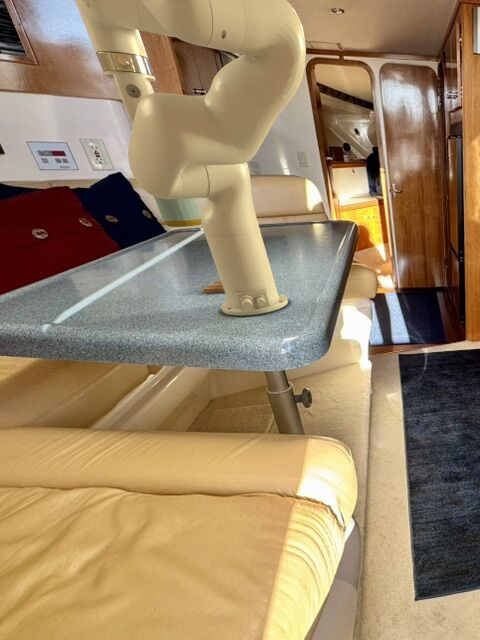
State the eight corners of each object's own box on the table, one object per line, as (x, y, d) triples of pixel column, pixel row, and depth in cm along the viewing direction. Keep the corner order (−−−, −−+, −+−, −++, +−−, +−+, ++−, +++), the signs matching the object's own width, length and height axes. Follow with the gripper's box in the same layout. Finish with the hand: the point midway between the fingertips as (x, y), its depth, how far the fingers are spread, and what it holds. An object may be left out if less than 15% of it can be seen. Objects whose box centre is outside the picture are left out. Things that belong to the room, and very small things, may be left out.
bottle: (211, 223, 92) (185, 148, 84) (187, 227, 86) (157, 146, 78) (183, 222, 92) (155, 147, 85) (157, 227, 86) (125, 146, 79)
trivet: (251, 283, 103) (250, 279, 103) (238, 292, 97) (237, 287, 96) (219, 284, 102) (218, 280, 102) (204, 293, 96) (202, 288, 95)
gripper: (147, 63, 71) (186, 175, 79) (157, 78, 83) (190, 173, 92) (90, 58, 67) (138, 176, 76) (110, 74, 80) (149, 173, 88)
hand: (166, 173), depth 84 cm, fingers closed on bottle, 7 cm apart
